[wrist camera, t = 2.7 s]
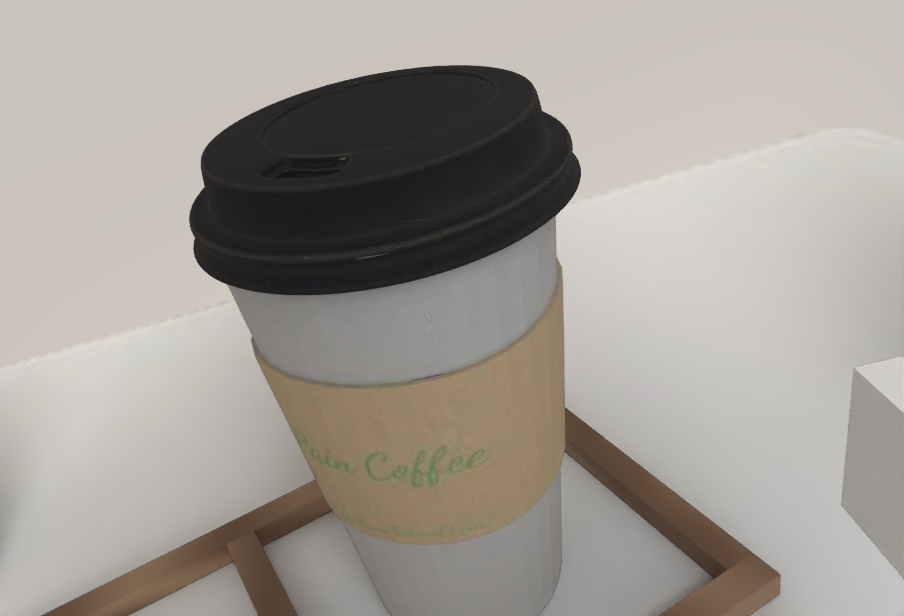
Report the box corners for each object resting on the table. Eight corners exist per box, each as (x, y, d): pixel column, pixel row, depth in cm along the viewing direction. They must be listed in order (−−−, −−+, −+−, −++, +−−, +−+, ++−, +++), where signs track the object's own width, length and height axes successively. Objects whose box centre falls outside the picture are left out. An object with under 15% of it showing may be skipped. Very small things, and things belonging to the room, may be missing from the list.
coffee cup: (323, 732, 23) (117, 243, 15) (332, 495, 31) (201, 101, 24) (663, 663, 23) (622, 140, 15) (582, 444, 31) (531, 34, 24)
